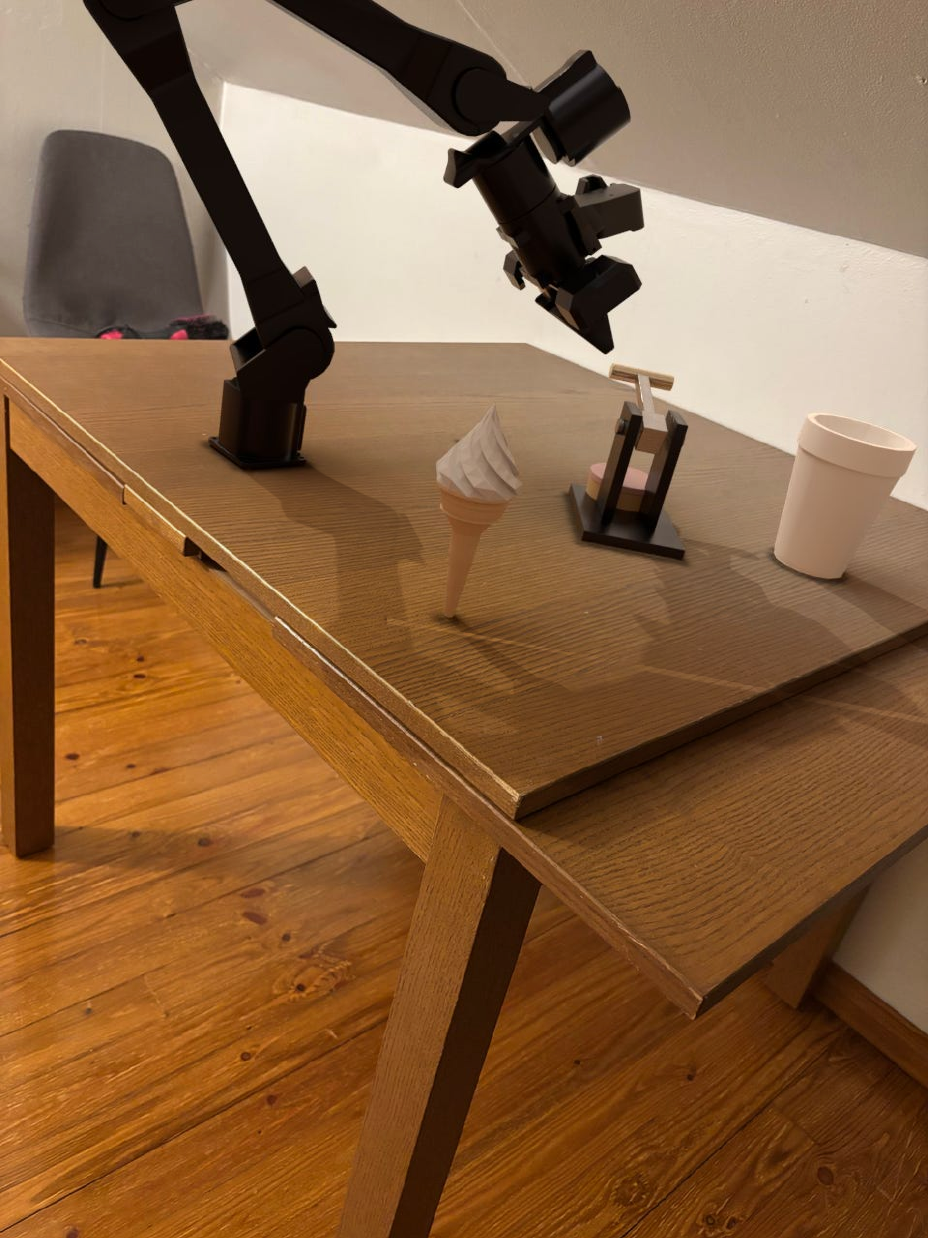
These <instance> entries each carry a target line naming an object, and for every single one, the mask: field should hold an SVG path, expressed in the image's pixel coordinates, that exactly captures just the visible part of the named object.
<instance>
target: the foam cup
mask: <svg viewBox="0 0 928 1238" xmlns="http://www.w3.org/2000/svg"><path fill="white" fill-rule="evenodd" d="M798 434H799V435H798V437H797V440H796V442H797V443H798V445H797V449H796V454H795V458H794V462H793V466H792V470H791V474H790V479H789V484H788V488H787V491H786V497H785V501H784V505H783V511H782V513H781V518H780V522H779V526H778V530H777V534H776V535H777V536H776V538H775V544H774V547H773V549H774V550H773V554H774V556H775V557H776V559H777V560H778V561H779V562H781V563H782V564H783V565H785V566H786V567H788V568H791V569H793V570H795V571H796V572H799V573H803V574H805V575H809V576H812V577H815V578H820V579H821V578H822V579H828V580H830V579H841V578H842V576H843V574H844V572H845V571H846V570H847V568H848V566H849V565H850V563H851V561H852V559H854V556H855V554H856V553H857V551H858V550H859V548H860V546H861V545H862V543H863V541H864V540H865V537H866V536H867V535H868V533H869V531H870V529H871V528H872V526H873V524H874V523H875V521H876V519H877V517H878V516H879V514H880V513H881V511H882V509H883V507H884V505H886V502H887V501H888V500H889V498H890V496H891V494H892V493H893V491H894V489H895V488H896V486H897V484H898V482H899V481H900V479H901V478H902V477H903V476H904V475H905V474H906V473H907V471H908V469H909V467H910V464H911V462H912V459H913V457H914V455H915V453H916V451H917V448H918V446H917V445H916V444H915V443H914V442H913V441H912V440H911V439H909V438H907V437H905V436H903V435H901V434H899V433H897V432H895V431H893V430H890V429H887V428H885V427H881V426H880V425H876V424H874V423H871V422H867V421H864V420H861V419H857V418H853V417H850V416H844V415H840V414H834V413H829V412H811V413H809V414H807V415H805V418H804V421H803V424H802V426H801V429H800V431H799V433H798Z"/></svg>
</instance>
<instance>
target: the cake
mask: <svg viewBox="0 0 928 1238" xmlns="http://www.w3.org/2000/svg"><path fill="white" fill-rule="evenodd" d="M606 464H607V462H598V463H597V462H596V463H593V464H592V465H590V469H589V472H588V475H589V476H588V479H587V483H586V485H585V486H586V492H587V494H588V495H589V496H590V497H592V498H593V499H595V500H596V499H597V496H598V492H599V489H600V485H601V482H602V478H603V475H604V471H605V468H606ZM648 475H649V473H646V472H644V471H641V470H639V469H637V468H634V467H630V466H628V469H627V473H626V476H625V479H624V483H623V486H622V490H621V493H620V496H619V500H618V503H617V506H616V508H618V509H622V510H627V511H639V508H640V505H641V501H642V498H643V496H644V493H645V484H646V481H647V478H648Z"/></svg>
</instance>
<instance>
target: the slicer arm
mask: <svg viewBox="0 0 928 1238" xmlns="http://www.w3.org/2000/svg"><path fill="white" fill-rule="evenodd" d="M608 379H611V380H615V381H619V382H625V383H630V384H634V387H635V394H636V400H637V407H638V409H639V410H640V412H641V414H642V416H643V419H642V422H641V426H640V429H639V432H638V436H637V439H636V442H635V446H634V451H637V452H642V453H647V454H652V455H655V454H656V455H659V454H660V452H661V449H662V446H663V444H664V441H665V439H666V436H667V434H668V429H667V424H666V415H664V414H659V413H656V411H655V406H654V400H653V394H652V388H654V389H656V390H657V389H658V390H662V391H667V392H671V391H672V390H673V387H674V383H675V376H674V375H672V374H666V373H661V372H657V371H652V370H648V369H644V368H640V367H634V366H630V365H624V364H621V363H616V362H612V363H611V364H610V367H609V369H608Z"/></svg>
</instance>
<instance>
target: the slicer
mask: <svg viewBox="0 0 928 1238" xmlns="http://www.w3.org/2000/svg"><path fill="white" fill-rule="evenodd" d="M665 418H666V424H667V429H668V434H667V436H666V439H665V441H664V444H663V446H662V449H661V452H660V454H659V455H656V454H653V458H652V462H651V465H650V468H649V471H648V478H647V481H646V484H645V493H644V496H643V498H642V501H641V505H640V508H639V511H627V510H622V509H618V508H616V506H617V503H618V500H619V496H620V493H621V490H622V486H623V483H624V479H625V476H626V473H627V469H628V467H630V463H631V459H632V456H633V453H634V450H635V442H636V439H637V436H638V432H639V429H640V426H641V422H642V419H643V416H642V414H641V412H640V410H639V408H638V404H636V402H634V401H629V400H624V402H623V404H622V409H621V412H620V415H619V417H618V418H617V420H616V423H615V426H614V437H613V440H612V443H611V446H610V451H609V455H608V456H607V457H608V458H607V461H606V463H607V464H606V468H605V471H604V475H603V478H602V482H601V485H600V489H599V492H598V496H597V499H596V500H595V499H593V498H592V497H590V496H589V495H588V494H587V492H586V486H587V485H581V484H577V483H576V484H575V483H570V486H569V490H568V496H569V499H570V503H571V507H572V510H573V515H574V518H575V523H576V527H577V529H578V535H579V538H580V541H581V542H586V543H592V544H596V545H600V546H601V545H602V546H607V547H612V548H617V549H622V550H627V551H632V552H637V553H641V554H648V555H652V556H657V557H662V558H666V559H667V558H668V559H673V560H677V561H678V560H679V561H683V559H684V556H685V553H686V549H685V547H684V544H683V543H682V541H681V538H680V537H679V534H678V533H677V531H676V528H675V526H674V525H673V523H672V520H671V518H670V517H669V514H668V513H667V510H666V508H665V506H664V504H665V502H666V499H667V496H668V492H669V489H670V486H671V484H672V483H671V482H672V480H673V476H674V473H675V471H676V467H677V464H678V461H679V457H680V454H681V451H682V448H683V447H684V445H685V442H686V439H687V438H686V437H687V433H688V429H689V425H688V423H687V422H686V420H685V419H684V417H683V416H682V414H681V413H680V412H679V411H675V410H672V409H668V410H667V413H666V415H665Z"/></svg>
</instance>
